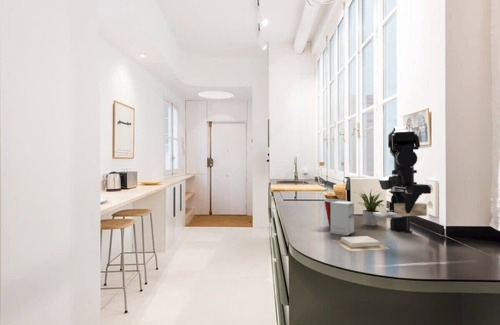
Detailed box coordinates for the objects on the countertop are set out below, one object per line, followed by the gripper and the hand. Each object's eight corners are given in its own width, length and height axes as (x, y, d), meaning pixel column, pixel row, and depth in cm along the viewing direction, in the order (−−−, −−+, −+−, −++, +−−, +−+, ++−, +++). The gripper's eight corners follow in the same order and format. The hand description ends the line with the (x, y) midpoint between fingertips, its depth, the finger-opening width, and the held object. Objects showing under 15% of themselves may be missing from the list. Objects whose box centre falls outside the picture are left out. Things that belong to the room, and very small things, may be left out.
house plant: (352, 226, 134) (351, 189, 134) (351, 221, 148) (350, 187, 148) (387, 228, 130) (386, 190, 130) (383, 222, 144) (382, 187, 144)
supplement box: (348, 236, 116) (348, 203, 117) (330, 234, 121) (329, 202, 121) (354, 233, 122) (354, 201, 122) (337, 230, 127) (336, 200, 127)
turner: (417, 213, 109) (417, 202, 109) (429, 216, 103) (429, 204, 103) (372, 214, 106) (372, 203, 107) (382, 217, 101) (382, 205, 101)
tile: (367, 236, 108) (341, 237, 107) (380, 241, 100) (351, 243, 99) (367, 240, 108) (341, 241, 107) (380, 246, 100) (351, 248, 99)
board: (368, 239, 111) (368, 238, 111) (390, 250, 98) (390, 249, 98) (331, 241, 110) (331, 239, 110) (349, 252, 96) (349, 250, 96)
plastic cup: (348, 230, 128) (348, 201, 128) (322, 228, 132) (322, 200, 132) (349, 225, 138) (349, 198, 138) (325, 223, 142) (324, 197, 142)
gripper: (368, 167, 113) (368, 209, 113) (399, 167, 95) (399, 217, 94) (396, 166, 114) (396, 208, 114) (432, 167, 96) (432, 216, 96)
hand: (404, 212), depth 105 cm, fingers closed on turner, 3 cm apart
